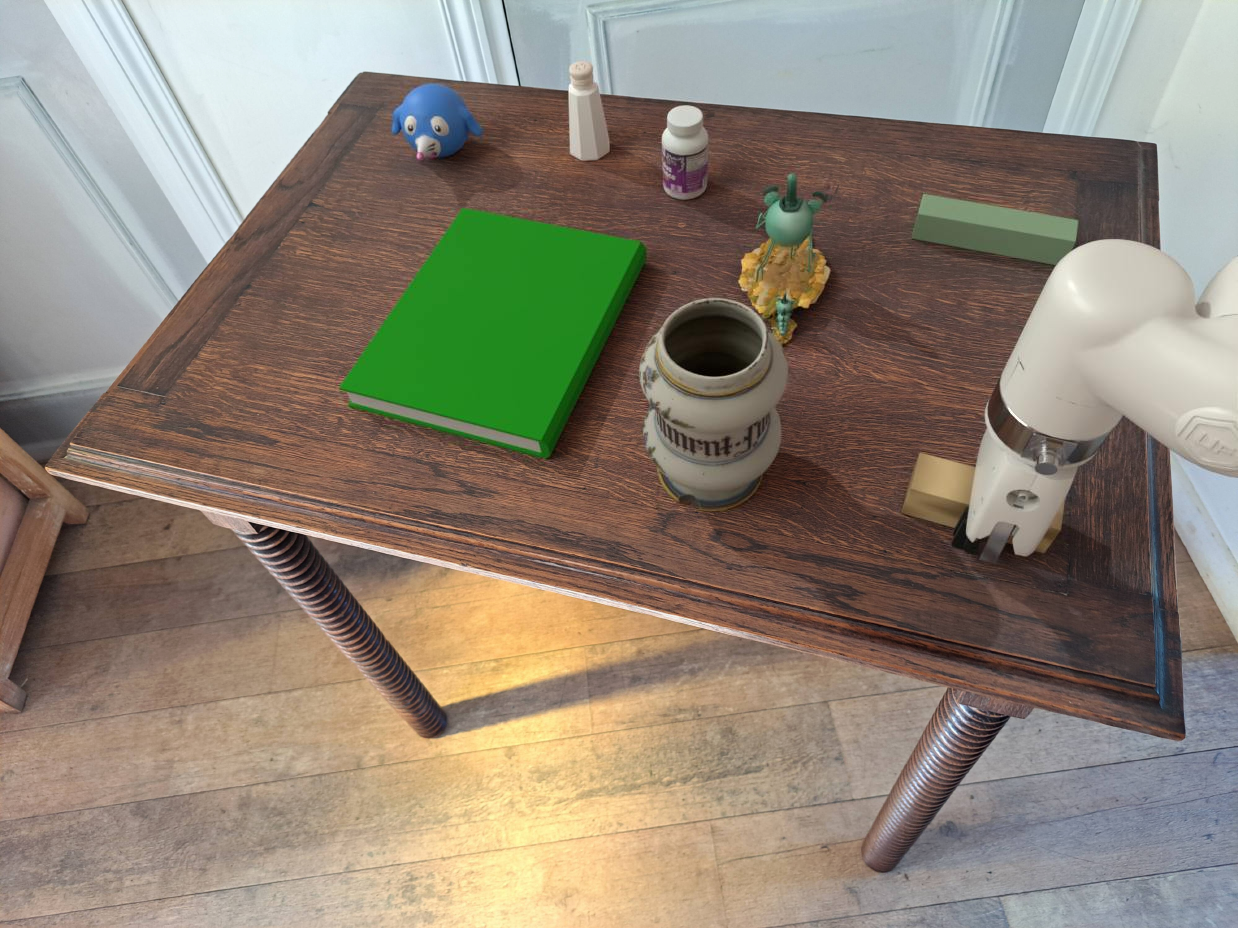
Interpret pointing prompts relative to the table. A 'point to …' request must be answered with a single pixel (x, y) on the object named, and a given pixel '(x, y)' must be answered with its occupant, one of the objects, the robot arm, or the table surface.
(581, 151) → the salt shaker
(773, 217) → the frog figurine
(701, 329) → the apothecary jar
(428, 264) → the book
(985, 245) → the green bar
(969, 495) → the brass block
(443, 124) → the blue mole toy
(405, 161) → the table surface
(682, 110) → the pill bottle
